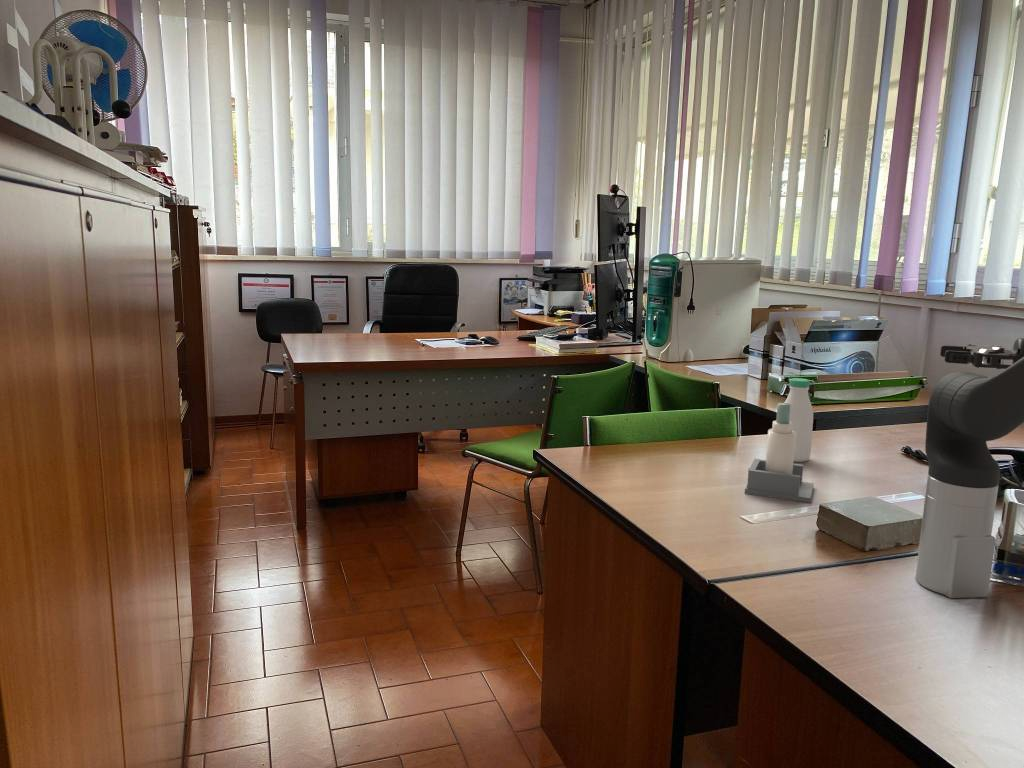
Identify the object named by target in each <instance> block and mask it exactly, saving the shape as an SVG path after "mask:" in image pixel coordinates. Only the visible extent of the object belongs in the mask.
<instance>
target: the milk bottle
mask: <svg viewBox="0 0 1024 768" xmlns="http://www.w3.org/2000/svg"><path fill="white" fill-rule="evenodd" d="M810 386H811V382H810V379H807V378H801V377H797V378H796V377H794V378H790V379H789V392H788V394H787V398H786V400H785V401H784V402H783V403H788V404H791V407H790V419H789V422H792V423H793V426H792V431H795V432H796V439H795V451H794V463H795V462H796V463H797V462H798V463H801V462H802V463H803V462H808V461H809V460H810V458H811V451H812V449H811V448H812V439H813V427H814V425H813V424H814V409H813V405H812V403H811V400H810V396H809V390H810Z"/></svg>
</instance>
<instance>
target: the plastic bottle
mask: <svg viewBox="0 0 1024 768" xmlns="http://www.w3.org/2000/svg"><path fill="white" fill-rule="evenodd" d="M776 406H777V407H776V408H777V409H776V418H775V419H776V420H772V424H771V426H772V427H771V428H769V429H768V430H767V437H766V438H767V440H766V452H765V460H766V464H765V471H769V472H777V473H784V474H792V475H793V463H794V464H795V462H794V451H795V439H796V432H795V431H792V426H793V423H792V422H789V419H790V407H791V404H788V403H784V402H778V403H777V405H776Z"/></svg>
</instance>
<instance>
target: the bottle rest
mask: <svg viewBox="0 0 1024 768" xmlns="http://www.w3.org/2000/svg"><path fill="white" fill-rule="evenodd" d="M765 464H766V459H761V458H754V459H753V461H752V462H751V465H750V467H749V468H748V471H747V472H748V473H747V483H746V485H745V488H744V494H748V495H753V496H760V497H768V498H772V499H773V498H774V499H781V500H788V501H794V502H800V503H801V502H802V503H807V502H808V503H809V504H810V503H811V500H812V495H813V492H814V487H815V485H814V484H815V483H814V482H808V481H803V475H804V474H803V473H804V464H799V463H795V462H794V463H793V475H792V474H784V473H777V472H769V471H765Z"/></svg>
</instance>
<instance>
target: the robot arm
mask: <svg viewBox="0 0 1024 768" xmlns="http://www.w3.org/2000/svg"><path fill="white" fill-rule="evenodd" d="M939 355H940V357H942V358H944V362H945V363H948V364H961V365H968V366H970V367H974V368H976V369H977V368H978V369H979V368H983V369H994V370H1002V369H1003V370H1002V371H1000V372H998V373H996V374H994V375H992V376H986V375H982V374H978V373H976V372H975V373H974V372H972V371H971V372H969V371H954V372H952V373H948V374H947V375H945V376H942V378H940V380H938V381H937V383H936V384H935V386H934V388H933V389H932V391H931V395H930V396H929V400H928V405H927V406H928V407H927V416H926V430H925V431H926V432H925V443H924V444H925V448H924V449H925V455H926V459H927V463H928V472H927V477H926V478H927V481H926V488H925V493H924V494H925V495H924V504H923V512H922V513H923V514H922V519H921V520H922V521H921V528H920V534H919V535H920V536H919V544H918V551H917V562H916V570H915V580H916V582H917V583H918V584H920V585H921V586H922V587H924V588H926V589H927V590H930V591H933V592H934V593H935V592H936V593H939V594H941V595H945V596H946V597H948V598H950V599H962V598H965V599H966V598H967V599H969V598H988V596H989V592H990V591H989V590H990V583H991V577H992V576H991V575H992V571H993V570H992V569H993V561H994V554H995V550H996V549H995V548H996V542H997V541H996V540H997V539H996V537H995V536H993V527H994V520H995V519H994V518H995V511H996V504H997V497H998V492H999V484H1000V478H1001V477H1000V476H1001V467H1000V464H999V463H998V462H997V461H996V459H995V458H994V457H993V455H992V453H991V452H990V449H989V447H988V444H987V442H991V441H995V440H999V439H1002V438H1003V437H1005V436H1007V435H1009V434H1010V433H1011V432H1013V431H1014V430H1016V429H1017V428H1019V426H1021V425H1022V424H1023V423H1024V337H1019V338H1017V339H1015V341H1014V343H1013V347H1012V349H1010V350H1009V349H1005V347H1003V346H1002V345H997V344H995V345H985V344H975V345H974V344H971V343H970V344H969V343H968V344H966V345H962V346H961V345H959V346H958V345H947V344H946V345H944V344H943V345H941V347H940V351H939Z"/></svg>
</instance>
